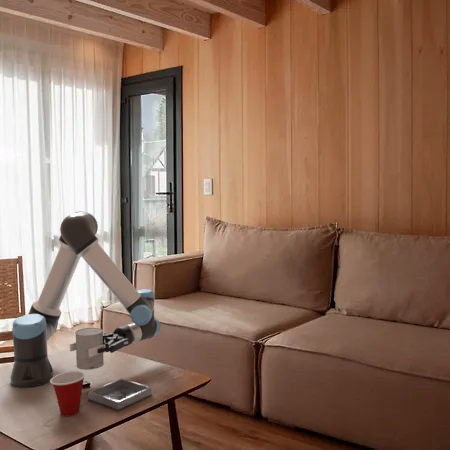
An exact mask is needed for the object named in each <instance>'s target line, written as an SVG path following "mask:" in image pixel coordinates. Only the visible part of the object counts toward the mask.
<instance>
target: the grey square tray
mask: <svg viewBox="0 0 450 450" xmlns="http://www.w3.org/2000/svg"><path fill="white" fill-rule="evenodd" d="M152 396H153V388H152V386H148V385H146V384H142V383H138V382H136V381H132V380H128V379H125V378H121V377H120V378H118V379H116V380H114V381H111V382H108V383H107V384H103V385H102V386H99V387H96V388H94V389H92V390H89V391H87V399H88V401H89V402H92V403H95V404H97V405H100V406H103V407H106V408H109V409H111V410H114V411H117V412H120V411H123V410H124V409H125V410H126V409H127V408H129V407H131V406H134V405H135V404H138V403H139V402H142V401H145V400H146V399H148V398H150V397H152Z"/></svg>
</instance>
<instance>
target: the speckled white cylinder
mask: <svg viewBox="0 0 450 450" xmlns="http://www.w3.org/2000/svg"><path fill="white" fill-rule="evenodd" d="M103 333H104V330H103V329H102V328H99V327H85V328H80V329H78V330H76V331H75V342H76V350H75V354H76V356H75V357H76V358H75V359H76V368H77V369H79V370H85V371H86V370H87V371H89V370H95V369H99V368H101V367H103V366H104V364H105V363H104V353H101V354H98V355H95V356H92V357H89V353H88V349H90V348H94V347H97V346H100V345H103Z"/></svg>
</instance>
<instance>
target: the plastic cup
mask: <svg viewBox="0 0 450 450" xmlns="http://www.w3.org/2000/svg"><path fill="white" fill-rule="evenodd" d="M85 376H86V373H85V372H83V371H80V370H74V371H67V372H62V373H59V374H57V375H54V377H53V378H52V379H51V380H50V381H49V383H50V384H51V385H52V387H53V390H54V392H55V396H56V401H57V404H58V408H59V412H60V415H61V416H63V415H64V417H72V416H75V415H77V414H79V413H80V410H81V402H82V393H83V386H84V380H85V379H84V378H85Z"/></svg>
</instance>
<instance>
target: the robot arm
mask: <svg viewBox="0 0 450 450" xmlns="http://www.w3.org/2000/svg"><path fill="white" fill-rule="evenodd" d="M98 226H99V224H98V221H97V219H96V218H95V216H94V215H92V213H89V212H88V211H83V210H82V211H80V210H79V211H75V212H73V213H71V214H69V215H67V216H66V217H64V219H63V220H62V222H61V223H60V229H59V232H60V236H59V238H58V241H59V243H60V246H59V249H58V251H57V254H56V256H55V259H54V262H53V263H52V266H51V268H50V271H49V273H48V275H47V277H46V280H45V284H44V285H43V288H42V291H41V293H40V294H39V297H38V300H36V301H34V302H33V303H31V305H30V306H31V307H30V309H29V310H28V314H24V315H22V316H18V317H17V318H16V319H14V320H13V322H12V328H11V332H12V341H13V342H12V343H13V345H12V346H13V356H14V358H13V359H14V362H13V366H12V370H11V374H10V376H9V377H10V378H9V379H10V384H11V385H12V386H14V387H18V388H32V387H38V386H41V385H46V384H47V383H50V380H51V379H52V378H53V377H54V376H55V375H54V373H55V372H54V369H53V367H52V364H51V362H50V359H49V356H48V341H49V339H50V338H51V337H52V336H53V335H54V334H55V332H56V331H57V329H58V326H59V321H60V318H61V315H62V311H61V309H60V307H61V305H62V304H63V301H64V298H65V295H66V293H67V290H68V288H69V286H70V284H71V281H72V279H73V276H74V274H75V271H76V269H77V268H78V265H79V262H80V259H81V257H82V259H83V260H84V262H86V263H87V265H88V266H89V268H91V270H92V271H93V272H94V273H95V275H96V276H97V277H98V278H99V280H101V282H102V283H103V284H104V285H105V286H106V288H108V290H109V291H110V292H111V294H112V295H113V296H114V297H115V298H116V299H117V301H118V302H119V303H120V304H121V305H122V306H123V308H124V309H125V310H126V312H127V313H128V314H129V316H130V319H131V322H132V323H131V322H130V323H129V324H125V325H122V326H118V327H117V328H115V329H114V330H113V332H110V333H107V334H106V332H103V345H100V346H97V347H94V348H90V349H88V353H89V357H92V356H95V355H98V354H101V353H103V354H104V353H110V354H112V353H115V352H116V351H119V350H121V349H123V348H124V347H128V346H130V345H132V346H133V345H134V344H136V343H138V342H141V341H145V340H149V339H151V338H154V337H156V336H157V335H158V334H160V332H161V329H162V328H161V324H160V320H159V319H158V318H156V316H155V293H154V290H152V289H148V288H147V289H145V288H144V289H139V290H137V289H136V287H135V286H134V285H133V284H132V283H131V282H130V281H129V279H128V278H127V277H126V276H125V274H124V273H123V272H122V271H121V269H120V268H119V267H118V265H116V263H115V262H114V261H113V260H112V259H111V257H110V256H109V255H108V254H107V252H106V251H105V250H104V248H102V246H101V245H100V243H99V238H98V237H97V236H96V235H97V232H98V228H99V227H98ZM74 351H76V341H75V342H71V343H69V352H74Z"/></svg>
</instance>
